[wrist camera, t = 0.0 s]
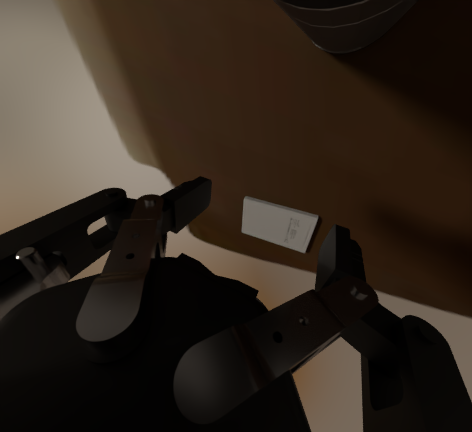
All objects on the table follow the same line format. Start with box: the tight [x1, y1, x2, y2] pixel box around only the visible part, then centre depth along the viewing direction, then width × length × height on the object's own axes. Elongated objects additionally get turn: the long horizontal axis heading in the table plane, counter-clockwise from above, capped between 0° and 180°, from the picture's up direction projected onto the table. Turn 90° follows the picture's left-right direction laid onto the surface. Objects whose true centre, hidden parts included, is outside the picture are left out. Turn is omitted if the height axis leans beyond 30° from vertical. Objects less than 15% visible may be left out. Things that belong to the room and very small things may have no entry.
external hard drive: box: [242, 196, 318, 253], centre depth 34 cm, size 2×8×12 cm
